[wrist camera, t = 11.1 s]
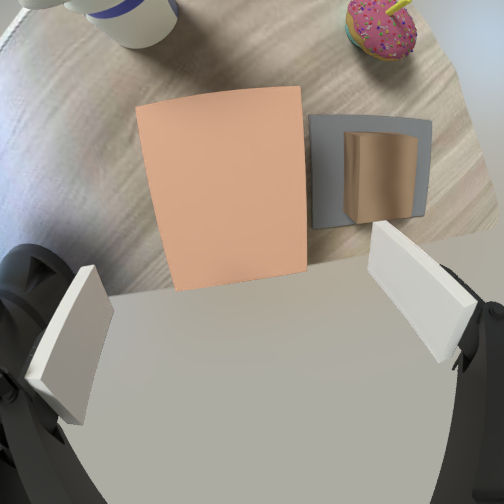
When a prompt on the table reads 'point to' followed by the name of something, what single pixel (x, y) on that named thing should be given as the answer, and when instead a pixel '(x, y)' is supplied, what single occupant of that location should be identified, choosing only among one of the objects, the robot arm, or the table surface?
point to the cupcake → (381, 28)
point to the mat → (332, 161)
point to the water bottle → (122, 18)
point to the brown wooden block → (379, 175)
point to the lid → (228, 184)
